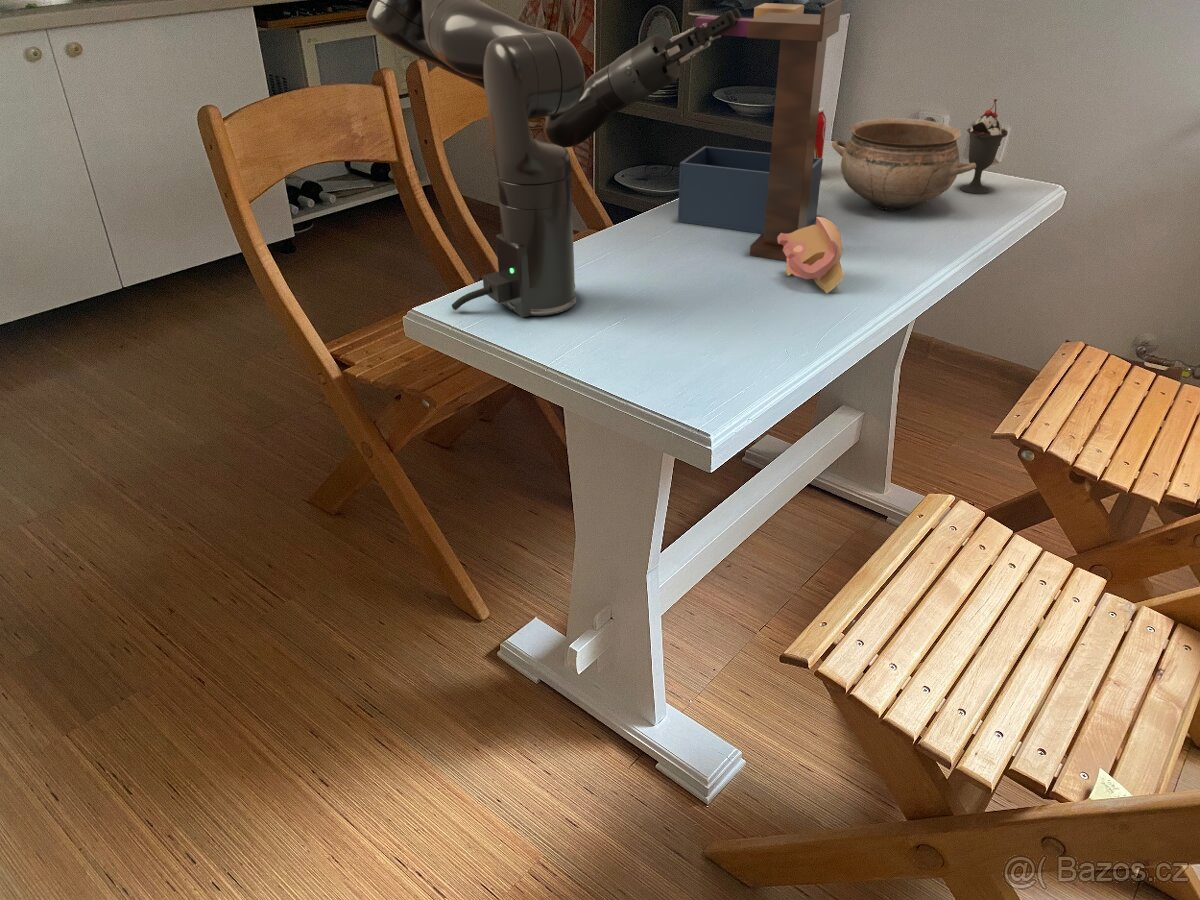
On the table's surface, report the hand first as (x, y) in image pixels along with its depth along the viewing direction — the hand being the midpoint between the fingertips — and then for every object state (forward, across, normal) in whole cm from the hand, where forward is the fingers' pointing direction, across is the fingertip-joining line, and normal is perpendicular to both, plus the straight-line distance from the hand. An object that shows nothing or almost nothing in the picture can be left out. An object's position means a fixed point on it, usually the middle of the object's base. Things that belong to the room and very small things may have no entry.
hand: (736, 16), depth 133 cm
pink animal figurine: (+3, +22, -37) cm, 43 cm away
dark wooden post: (-5, +12, -32) cm, 35 cm away
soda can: (-10, -28, -29) cm, 42 cm away
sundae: (+16, -31, -44) cm, 57 cm away
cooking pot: (+6, -17, -39) cm, 43 cm away
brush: (+1, 0, -4) cm, 4 cm away
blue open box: (-12, 0, -28) cm, 31 cm away
